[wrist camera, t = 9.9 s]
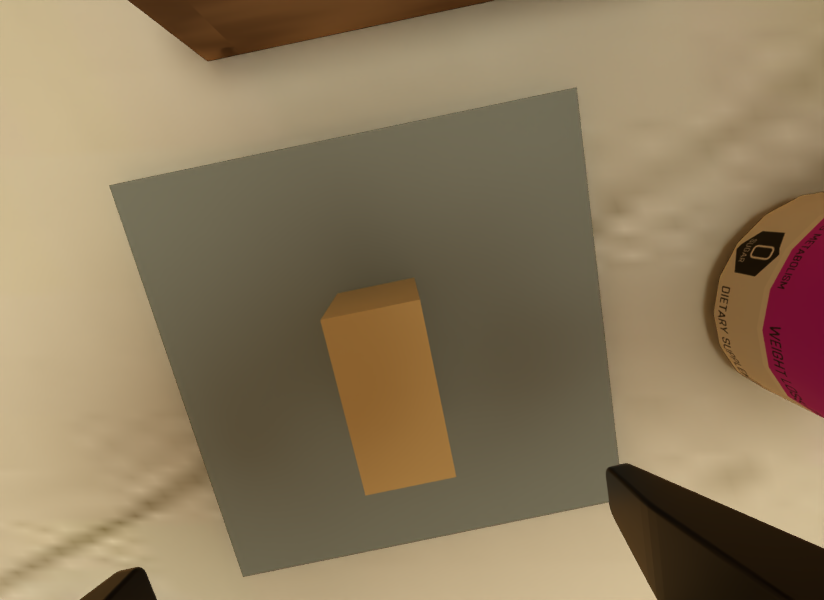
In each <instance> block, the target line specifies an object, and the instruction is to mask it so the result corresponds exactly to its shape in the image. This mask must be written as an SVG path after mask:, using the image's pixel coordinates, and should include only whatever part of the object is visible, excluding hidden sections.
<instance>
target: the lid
mask: <svg viewBox="0 0 824 600" xmlns="http://www.w3.org/2000/svg"><path fill="white" fill-rule="evenodd" d="M109 186H110V189H111V192H112V195H113V198H114V201H115V204H116V207H117V210H118V213H119V215H120V218H121V221H122V224H123V227H124V230H125V233H126V236H127V239H128V242H129V245H130V248H131V250H132V253H133V256H134V259H135V262H136V265H137V268H138V271H139V274H140V277H141V280H142V283H143V286H144V288H145V291H146V294H147V297H148V300H149V303H150V306H151V309H152V312H153V315H154V318H155V321H156V324H157V326H158V329H159V332H160V335H161V338H162V341H163V344H164V347H165V350H166V353H167V356H168V359H169V362H170V364H171V367H172V370H173V373H174V376H175V379H176V382H177V385H178V388H179V391H180V394H181V397H182V400H183V402H184V405H185V408H186V411H187V414H188V417H189V420H190V423H191V426H192V429H193V432H194V435H195V438H196V440H197V443H198V446H199V449H200V452H201V455H202V458H203V461H204V464H205V467H206V470H207V473H208V476H209V478H210V481H211V484H212V487H213V490H214V493H215V496H216V499H217V502H218V505H219V508H220V511H221V514H222V516H223V519H224V522H225V525H226V528H227V531H228V534H229V537H230V540H231V543H232V546H233V549H234V552H235V554H236V557H237V560H238V563H239V566H240V569H241V572H242V575H243V577H245V576H250V575H255V574H260V573H265V572H270V571H274V570H279V569H284V568H289V567H294V566H299V565H304V564H309V563H314V562H318V561H323V560H328V559H333V558H338V557H343V556H348V555H353V554H358V553H363V552H367V551H372V550H377V549H382V548H387V547H392V546H397V545H402V544H407V543H412V542H416V541H421V540H426V539H431V538H436V537H441V536H446V535H451V534H456V533H461V532H465V531H470V530H475V529H480V528H485V527H490V526H495V525H500V524H505V523H510V522H514V521H519V520H524V519H529V518H534V517H539V516H544V515H549V514H554V513H559V512H563V511H568V510H573V509H578V508H583V507H588V506H593V505H598V504H603V503H608V502H609V498H608V490H607V482H606V469H607V468H608V467H610V466H615V465H619V458H618V450H617V441H616V432H615V423H614V414H613V405H612V396H611V388H610V379H609V370H608V361H607V352H606V343H605V334H604V326H603V317H602V308H601V299H600V290H599V281H598V272H597V264H596V255H595V246H594V237H593V228H592V219H591V210H590V202H589V193H588V184H587V175H586V166H585V157H584V148H583V139H582V131H581V122H580V113H579V104H578V95H577V88H572V89H567V90H562V91H558V92H553V93H548V94H543V95H538V96H534V97H529V98H524V99H519V100H515V101H510V102H505V103H500V104H495V105H491V106H486V107H481V108H476V109H472V110H467V111H462V112H457V113H453V114H448V115H443V116H438V117H433V118H429V119H424V120H419V121H414V122H410V123H405V124H400V125H395V126H390V127H386V128H381V129H376V130H371V131H367V132H362V133H357V134H352V135H348V136H343V137H338V138H333V139H328V140H324V141H319V142H314V143H309V144H305V145H300V146H295V147H290V148H285V149H281V150H276V151H271V152H266V153H262V154H257V155H252V156H247V157H243V158H238V159H233V160H228V161H223V162H219V163H214V164H209V165H204V166H200V167H195V168H190V169H185V170H180V171H176V172H171V173H166V174H161V175H157V176H152V177H147V178H142V179H138V180H133V181H128V182H123V183H118V184H114V185H109Z"/></svg>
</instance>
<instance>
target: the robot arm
mask: <svg viewBox="0 0 824 600" xmlns="http://www.w3.org/2000/svg"><path fill="white" fill-rule="evenodd" d="M606 482H607V490H608V498H609V505H610V509H611V512H612V515H613V517H614V519H615V521H616V523H617V525H618V527H619V529H620V531H621V533H622V535H623V536H624V538H625V540H626V542H627V544H628V546H629V548H630V550H631V552H632V553H633V555H634V557H635V559H636V561H637V563H638V565H639V567H640V569H641V570H642V572H643V574H644V576H645V578H646V580H647V582H648V584H649V585H650V587H651V589H652V591H653V593H654V594H655V596H656V598H657V600H824V548H821V547H819V546H817V545H815V544H812V543H810V542H808V541H805V540H803V539H801V538H798V537H796V536H794V535H792V534H789V533H787V532H785V531H782V530H780V529H778V528H776V527H773V526H771V525H769V524H766V523H764V522H762V521H759V520H757V519H755V518H753V517H750V516H748V515H746V514H743V513H741V512H739V511H737V510H734V509H732V508H730V507H727V506H725V505H723V504H720V503H718V502H716V501H714V500H711V499H709V498H707V497H704V496H702V495H700V494H698V493H695V492H693V491H691V490H688V489H686V488H684V487H681V486H679V485H677V484H675V483H672V482H670V481H668V480H665V479H663V478H661V477H659V476H656V475H654V474H652V473H649V472H647V471H645V470H642V469H640V468H638V467H636V466H633V465H631V464H628V463H625V464H620V465H615V466H610V467H608V468H607V469H606ZM80 600H157V599H156V596H155V594H154V591H153V589H152V586H151V584H150V581H149V579H148V576H147V574H146V572H145V570H144V569H142V568H140V567H135V568H130V569H126V570H121V571H118V572H116V573H115V574H113V575H112V576H111V577H109V578H108V579H107V580H105V581H104V582H103V583H101V584H100V585H99V586H97V587H96V588H95V589H93V590H92V591H91V592H89V593H88V594H87V595H85V596H84V597H83V598H81V599H80Z"/></svg>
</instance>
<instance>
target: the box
mask: <svg viewBox="0 0 824 600" xmlns="http://www.w3.org/2000/svg"><path fill="white" fill-rule="evenodd" d="M128 1H130V2H131V3H132V4H133V5H135V6H136V7H137V8H139V9H140V10H141V11H143V12H144V13H145V14H147V15H148V16H149V17H150V18H152V19H153V20H154V21H156V22H157V23H158V24H160V25H161V26H162V27H164V28H165V29H166V30H167V31H169V32H170V33H171V34H173V35H174V36H175V37H177V38H178V39H179V40H180V41H182V42H183V43H184V44H186V45H187V46H188V47H190V48H191V49H192V50H194V51H195V52H196V53H197V54H199V55H200V56H201V57H203V58H204V59H205V60H207V61H210V60H215V59H220V58H224V57H229V56H234V55H238V54H243V53H248V52H253V51H257V50H262V49H267V48H271V47H276V46H281V45H285V44H290V43H295V42H300V41H304V40H309V39H314V38H318V37H323V36H328V35H332V34H337V33H342V32H347V31H351V30H356V29H361V28H365V27H370V26H375V25H380V24H384V23H389V22H394V21H398V20H403V19H408V18H412V17H417V16H422V15H427V14H431V13H436V12H441V11H445V10H450V9H455V8H459V7H464V6H469V5H474V4H478V3H483V2H488V1H492V0H128Z"/></svg>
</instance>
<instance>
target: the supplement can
mask: <svg viewBox="0 0 824 600" xmlns="http://www.w3.org/2000/svg"><path fill="white" fill-rule="evenodd" d="M714 318H715V323H716V328H717V333H718V338H719V343H720V347H721V348H722V350H723V351H724V352H725V354H726V355H727V357H728V358H729V360H730V361H731V363H732V364H733V366H734V367H735V369H736V370H737V372H739V373H740V374H742V375H744V376H745V377H747V378H748V379H750V380H752V381H753V382H755V383H756V384H758V385H760V386H761V387H763V388H765V389H767V390H769V391H771V392H773V393H775V394H777V395H779V396H781V397H783V398H785V399H787V400H789V401H791V402H793V403H795V404H797V405H799V406H801V407H803V408H805V409H807V410H809V411H811V412H813V413H815V414H817V415H819V416H821V417H823V418H824V192H820V193H814V194H808V195H802V196H800V197H798V198H796V199H794V200H792V201H790V202H788V203H787V204H785V205H783V206H781V207H779V208H777V209H775V210H773V211H772V212H770V213H768V214H766V215H765V216H764V217H763V218H762V219H761V220H760V221H759V222H758V223H757V224H756V225H755V226H754V227H753V228H752V229H751V230H750V231H749V232H748V233H747V234H746V235H745V236H744V237H743V238H742V239H741V240H740V241H739V242H738V243H737V245H736V247H735V249H734V251H733V253H732V255H731V257H730V259H729V261H728V263H727V265H726V266H725V268H724V270H723V272H722V274H721V276H720V278H719V284H718V290H717V296H716V302H715V308H714Z"/></svg>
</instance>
